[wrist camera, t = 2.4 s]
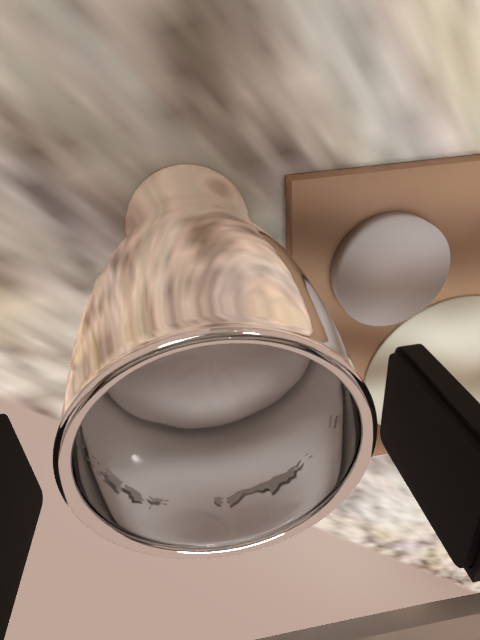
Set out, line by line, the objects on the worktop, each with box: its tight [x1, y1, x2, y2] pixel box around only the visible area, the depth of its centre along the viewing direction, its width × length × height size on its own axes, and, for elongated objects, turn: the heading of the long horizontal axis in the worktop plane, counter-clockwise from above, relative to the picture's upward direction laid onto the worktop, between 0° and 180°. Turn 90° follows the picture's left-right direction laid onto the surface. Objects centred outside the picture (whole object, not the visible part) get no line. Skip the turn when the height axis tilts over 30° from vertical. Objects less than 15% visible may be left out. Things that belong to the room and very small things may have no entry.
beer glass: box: [53, 164, 378, 559], centre depth 15 cm, size 7×7×15 cm
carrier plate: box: [286, 154, 480, 456], centre depth 26 cm, size 20×16×2 cm
